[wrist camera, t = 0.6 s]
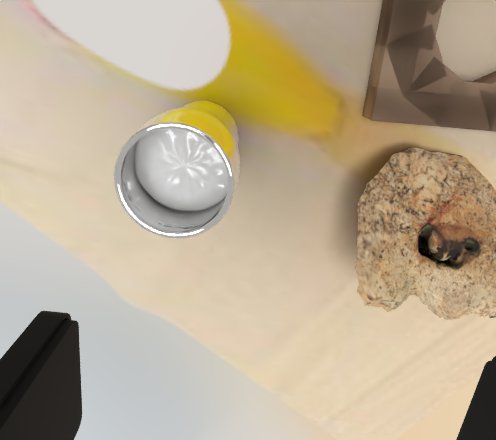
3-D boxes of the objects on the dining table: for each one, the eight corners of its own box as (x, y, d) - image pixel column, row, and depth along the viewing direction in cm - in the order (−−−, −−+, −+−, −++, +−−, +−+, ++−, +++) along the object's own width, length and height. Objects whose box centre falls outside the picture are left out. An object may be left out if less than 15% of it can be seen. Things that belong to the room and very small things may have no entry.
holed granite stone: (468, 156, 44) (543, 154, 37) (454, 291, 46) (524, 314, 39) (319, 144, 37) (376, 139, 30) (309, 303, 39) (361, 334, 32)
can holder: (399, -94, 31) (414, -109, 28) (600, -74, 31) (634, -87, 28) (362, 115, 36) (371, 120, 33) (534, 131, 37) (558, 136, 34)
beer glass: (174, 84, 36) (123, 100, 21) (253, 109, 36) (254, 140, 22) (156, 162, 38) (99, 223, 24) (230, 184, 39) (218, 256, 25)
